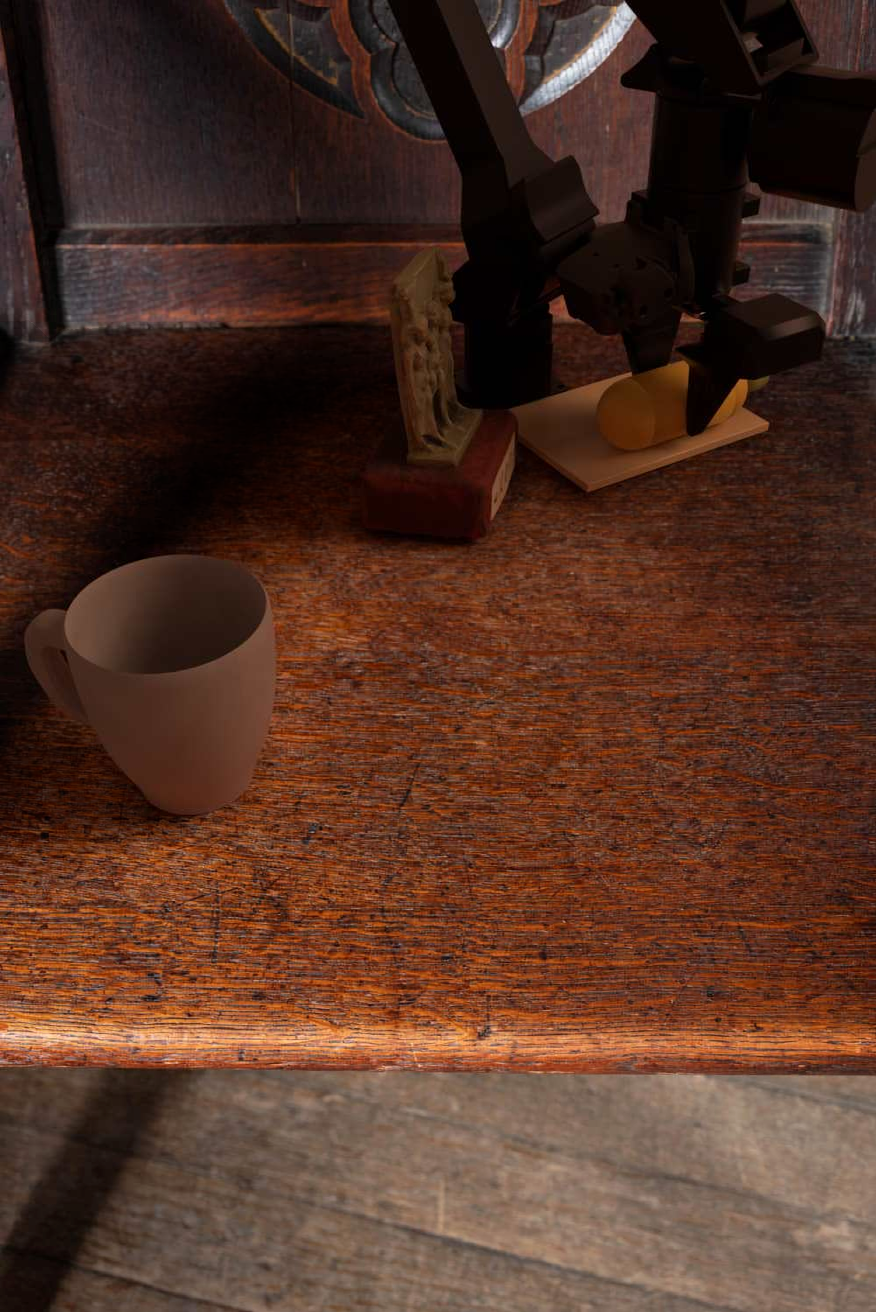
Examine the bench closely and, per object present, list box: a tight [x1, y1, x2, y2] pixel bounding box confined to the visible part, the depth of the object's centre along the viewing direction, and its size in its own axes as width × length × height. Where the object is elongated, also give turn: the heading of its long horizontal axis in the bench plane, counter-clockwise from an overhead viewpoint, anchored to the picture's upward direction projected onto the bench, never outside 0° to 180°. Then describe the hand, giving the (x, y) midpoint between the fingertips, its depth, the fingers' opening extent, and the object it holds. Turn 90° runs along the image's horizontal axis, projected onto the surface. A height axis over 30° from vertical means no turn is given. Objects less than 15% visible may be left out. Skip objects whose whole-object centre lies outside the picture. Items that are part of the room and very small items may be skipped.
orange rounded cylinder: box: [596, 359, 771, 450], centre depth 82 cm, size 14×5×5 cm, turn 121°
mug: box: [24, 554, 277, 816], centre depth 57 cm, size 12×9×10 cm
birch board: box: [507, 363, 770, 493], centre depth 85 cm, size 11×15×1 cm
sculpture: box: [360, 244, 519, 539], centre depth 73 cm, size 10×8×15 cm
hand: (670, 419), depth 83 cm, fingers closed on orange rounded cylinder, 4 cm apart
